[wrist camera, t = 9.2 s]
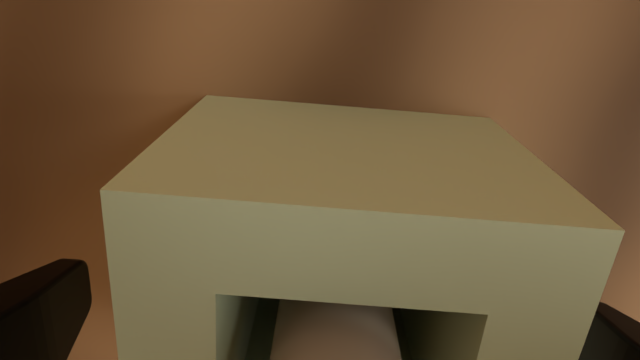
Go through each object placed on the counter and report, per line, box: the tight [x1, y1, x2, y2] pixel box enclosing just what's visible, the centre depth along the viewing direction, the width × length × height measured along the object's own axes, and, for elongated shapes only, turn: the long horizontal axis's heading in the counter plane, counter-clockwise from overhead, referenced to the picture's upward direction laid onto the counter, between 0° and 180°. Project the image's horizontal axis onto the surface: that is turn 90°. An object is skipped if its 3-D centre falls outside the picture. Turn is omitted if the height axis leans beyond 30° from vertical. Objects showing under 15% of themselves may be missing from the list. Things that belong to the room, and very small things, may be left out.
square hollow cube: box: [100, 95, 625, 360], centre depth 9 cm, size 6×6×5 cm
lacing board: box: [0, 0, 640, 360], centre depth 9 cm, size 20×12×8 cm, turn 85°
